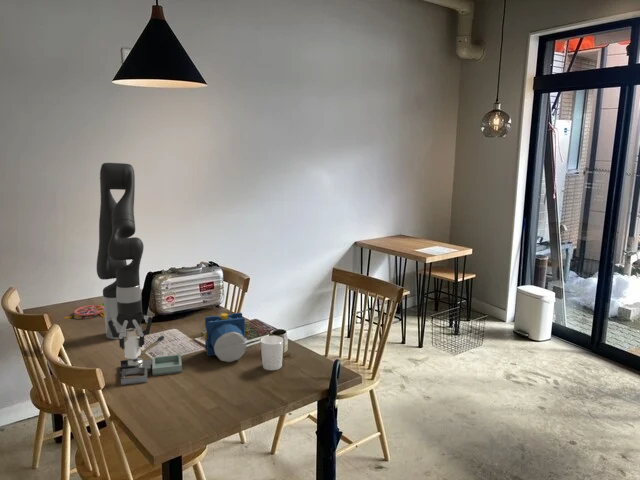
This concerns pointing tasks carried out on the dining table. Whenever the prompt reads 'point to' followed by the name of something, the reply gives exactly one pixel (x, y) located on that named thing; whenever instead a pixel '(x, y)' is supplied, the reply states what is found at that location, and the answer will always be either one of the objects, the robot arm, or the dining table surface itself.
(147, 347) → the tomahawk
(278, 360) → the white cup
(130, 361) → the grey caddy
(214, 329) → the blue boxy device
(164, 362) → the tray
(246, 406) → the dining table surface
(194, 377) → the dining table surface
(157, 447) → the dining table surface
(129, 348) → the pepper shaker
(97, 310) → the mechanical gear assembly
